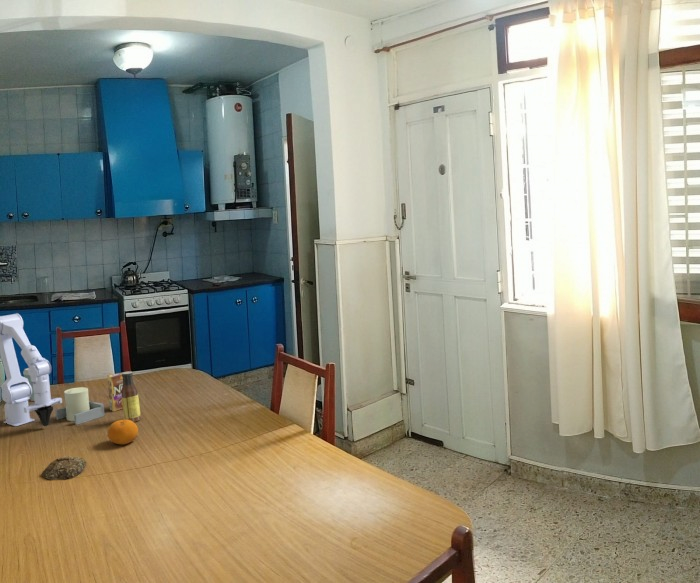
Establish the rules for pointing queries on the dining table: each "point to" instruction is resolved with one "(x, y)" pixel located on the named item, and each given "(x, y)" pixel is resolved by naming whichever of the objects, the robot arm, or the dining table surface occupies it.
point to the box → (83, 413)
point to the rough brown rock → (64, 468)
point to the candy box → (115, 391)
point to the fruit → (122, 431)
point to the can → (76, 401)
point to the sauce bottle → (130, 398)
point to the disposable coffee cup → (26, 375)
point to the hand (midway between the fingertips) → (45, 425)
